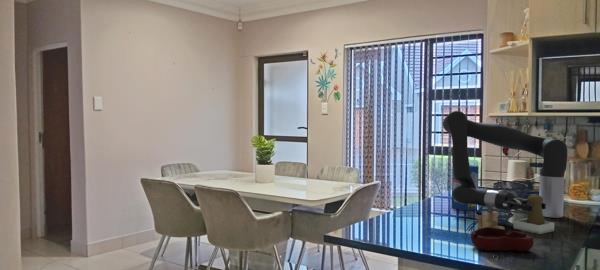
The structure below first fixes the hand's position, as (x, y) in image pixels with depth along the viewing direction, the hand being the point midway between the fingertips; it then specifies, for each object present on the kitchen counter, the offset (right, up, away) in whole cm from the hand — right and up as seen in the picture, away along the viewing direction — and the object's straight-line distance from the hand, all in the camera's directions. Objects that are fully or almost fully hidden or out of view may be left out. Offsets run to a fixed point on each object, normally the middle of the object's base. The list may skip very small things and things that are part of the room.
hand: (538, 207), depth 174 cm
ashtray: (-25, -10, -23) cm, 36 cm away
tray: (-1, -9, +2) cm, 9 cm away
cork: (0, -7, +2) cm, 8 cm away
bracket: (-17, -8, +2) cm, 19 cm away
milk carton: (-13, -7, +42) cm, 44 cm away
